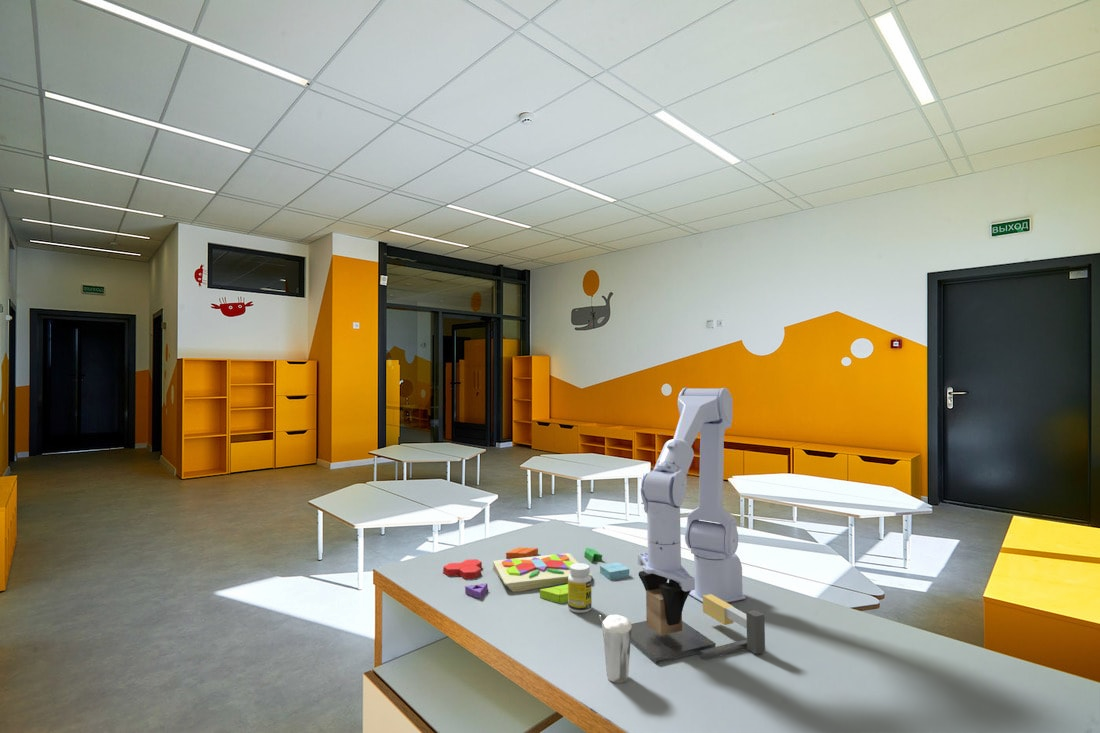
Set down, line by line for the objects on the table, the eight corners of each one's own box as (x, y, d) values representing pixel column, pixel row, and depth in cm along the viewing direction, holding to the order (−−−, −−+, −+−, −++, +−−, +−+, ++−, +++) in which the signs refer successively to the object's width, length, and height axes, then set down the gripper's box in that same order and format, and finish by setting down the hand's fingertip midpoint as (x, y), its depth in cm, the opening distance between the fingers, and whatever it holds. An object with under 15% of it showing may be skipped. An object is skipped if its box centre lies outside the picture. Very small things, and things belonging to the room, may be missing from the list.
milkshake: (592, 674, 84) (592, 609, 84) (622, 667, 86) (621, 603, 86) (607, 690, 79) (606, 621, 80) (638, 681, 82) (637, 615, 82)
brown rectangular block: (672, 619, 98) (672, 585, 98) (687, 629, 94) (687, 594, 94) (646, 624, 96) (646, 590, 96) (660, 635, 92) (660, 600, 92)
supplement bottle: (590, 614, 105) (589, 571, 105) (566, 612, 106) (565, 569, 106) (593, 604, 110) (592, 562, 110) (570, 602, 111) (569, 561, 111)
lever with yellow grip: (711, 618, 102) (711, 586, 102) (765, 651, 90) (764, 614, 90) (703, 620, 101) (702, 587, 101) (755, 653, 89) (755, 616, 89)
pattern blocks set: (568, 545, 151) (568, 534, 151) (648, 583, 122) (648, 569, 123) (437, 571, 131) (437, 558, 132) (496, 623, 103) (496, 607, 103)
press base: (707, 613, 105) (707, 607, 105) (760, 645, 92) (760, 639, 92) (618, 632, 98) (618, 626, 98) (662, 670, 85) (662, 663, 85)
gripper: (623, 532, 100) (624, 605, 100) (669, 555, 87) (670, 640, 86) (655, 527, 103) (656, 599, 102) (704, 549, 89) (706, 632, 89)
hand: (665, 617), depth 95 cm, fingers closed on brown rectangular block, 4 cm apart
